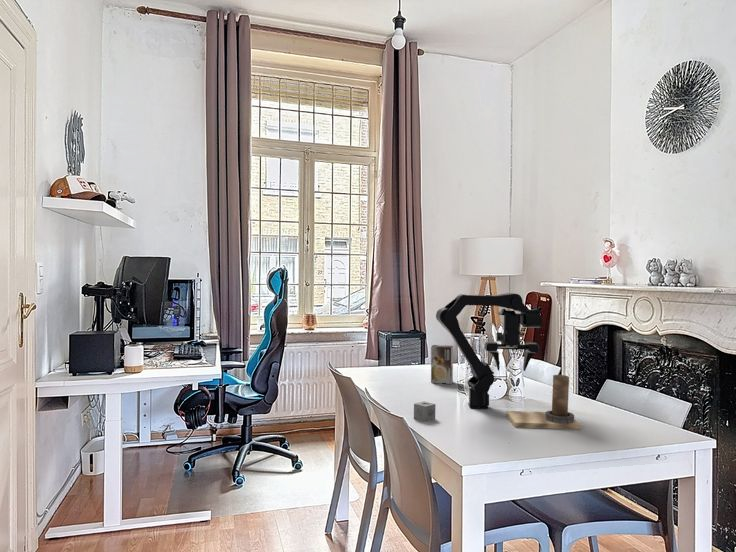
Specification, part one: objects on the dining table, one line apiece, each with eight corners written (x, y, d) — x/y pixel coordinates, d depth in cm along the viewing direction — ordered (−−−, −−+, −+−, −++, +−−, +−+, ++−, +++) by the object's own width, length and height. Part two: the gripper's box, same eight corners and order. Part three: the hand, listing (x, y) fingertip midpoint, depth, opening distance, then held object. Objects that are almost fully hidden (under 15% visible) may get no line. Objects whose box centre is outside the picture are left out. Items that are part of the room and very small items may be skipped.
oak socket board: (514, 427, 165) (515, 416, 165) (506, 415, 179) (506, 404, 179) (580, 429, 163) (580, 418, 163) (566, 417, 177) (566, 406, 177)
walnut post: (549, 420, 168) (551, 376, 167) (553, 416, 172) (555, 374, 171) (565, 423, 165) (567, 378, 164) (568, 419, 169) (570, 376, 168)
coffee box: (453, 381, 233) (453, 345, 233) (451, 384, 227) (451, 347, 227) (432, 380, 236) (433, 344, 236) (430, 383, 230) (430, 346, 229)
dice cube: (435, 419, 173) (435, 404, 173) (425, 422, 170) (425, 406, 169) (423, 416, 177) (423, 401, 177) (413, 418, 173) (413, 403, 173)
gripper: (532, 325, 198) (532, 367, 198) (482, 325, 199) (481, 366, 199) (540, 329, 187) (539, 372, 187) (487, 328, 188) (486, 371, 188)
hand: (511, 370), depth 191 cm, fingers open, 9 cm apart
